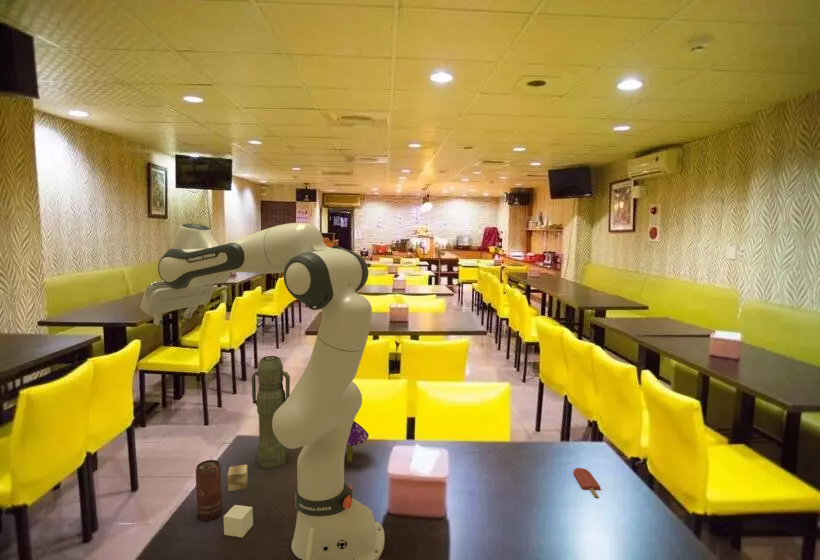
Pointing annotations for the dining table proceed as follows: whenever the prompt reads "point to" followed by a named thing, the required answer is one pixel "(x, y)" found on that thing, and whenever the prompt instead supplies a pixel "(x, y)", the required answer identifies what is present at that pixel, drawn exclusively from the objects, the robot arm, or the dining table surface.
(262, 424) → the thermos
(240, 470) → the maple block
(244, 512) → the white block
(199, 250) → the robot arm
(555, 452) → the dining table surface
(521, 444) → the dining table surface
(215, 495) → the can
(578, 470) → the popsicle
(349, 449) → the decorative mushroom
